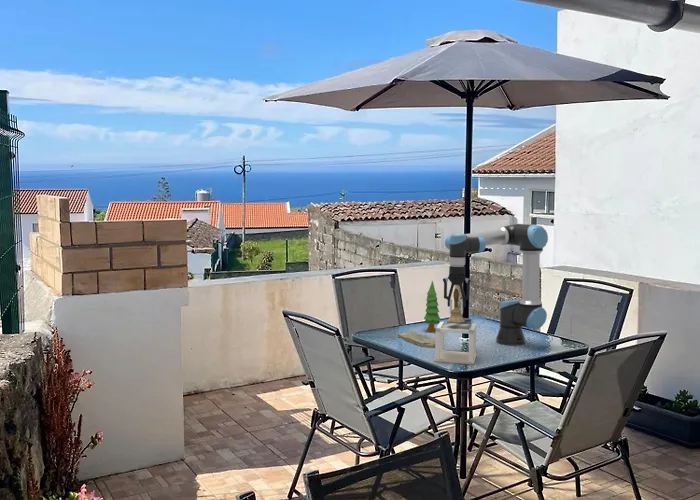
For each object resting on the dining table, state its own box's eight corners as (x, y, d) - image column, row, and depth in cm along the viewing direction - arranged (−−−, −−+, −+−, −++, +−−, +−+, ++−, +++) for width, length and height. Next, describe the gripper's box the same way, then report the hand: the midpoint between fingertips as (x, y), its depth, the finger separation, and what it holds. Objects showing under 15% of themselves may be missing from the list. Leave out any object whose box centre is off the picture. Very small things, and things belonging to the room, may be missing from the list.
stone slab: (426, 343, 356) (396, 330, 383) (425, 351, 357) (396, 337, 383) (445, 341, 362) (414, 328, 388) (445, 348, 362) (414, 335, 389)
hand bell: (451, 323, 328) (452, 290, 327) (444, 319, 336) (445, 287, 335) (467, 322, 330) (468, 289, 329) (460, 319, 338) (460, 287, 337)
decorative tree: (434, 329, 406) (435, 278, 403) (443, 332, 397) (444, 280, 395) (420, 330, 401) (421, 279, 398) (429, 333, 393) (430, 281, 390)
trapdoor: (472, 323, 352) (473, 318, 352) (468, 332, 328) (468, 328, 328) (447, 321, 355) (447, 317, 355) (441, 331, 331) (441, 326, 331)
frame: (476, 354, 344) (477, 323, 343) (473, 364, 326) (474, 331, 324) (438, 352, 349) (439, 321, 347) (433, 361, 331) (434, 328, 329)
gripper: (476, 265, 332) (475, 313, 334) (439, 264, 337) (438, 311, 339) (475, 267, 325) (474, 315, 327) (437, 265, 329) (436, 313, 332)
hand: (456, 313), depth 333 cm, fingers closed on hand bell, 5 cm apart
